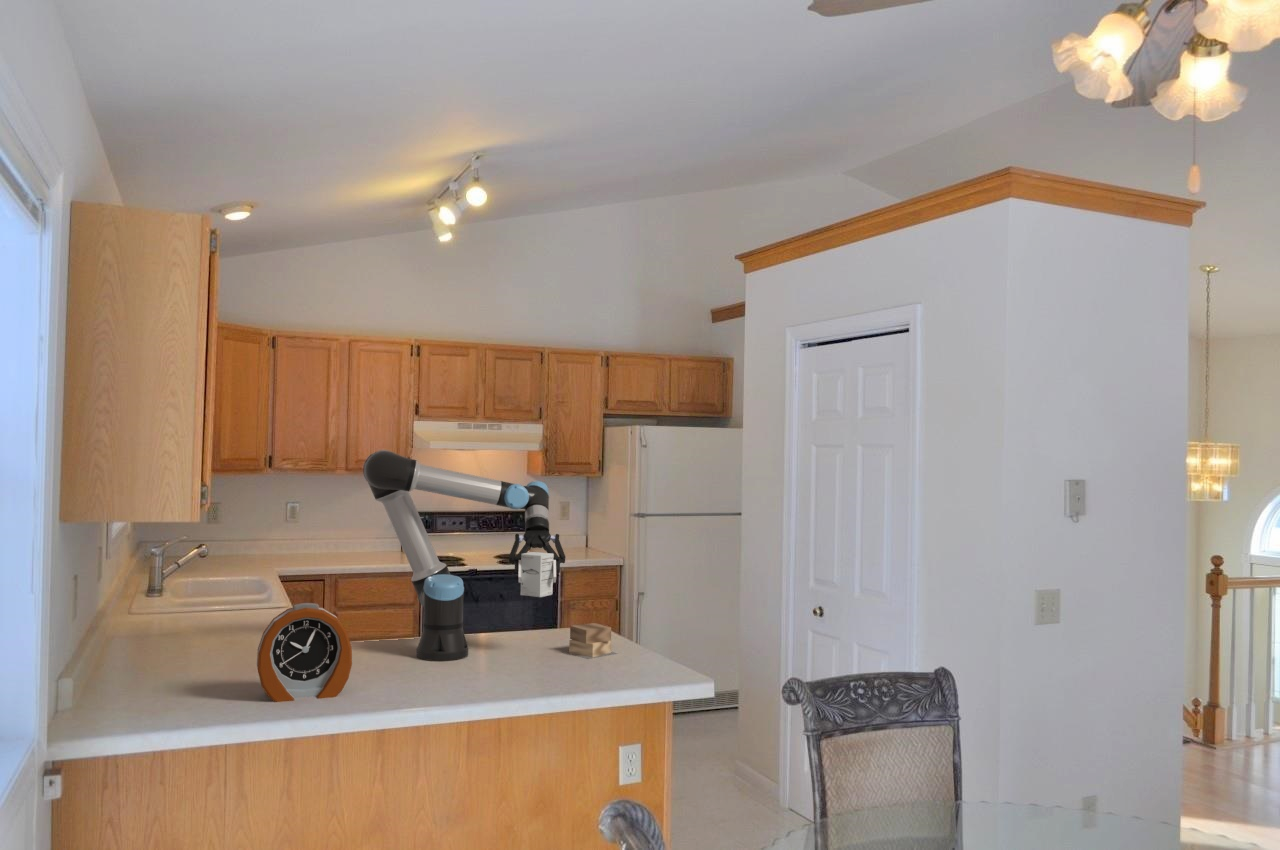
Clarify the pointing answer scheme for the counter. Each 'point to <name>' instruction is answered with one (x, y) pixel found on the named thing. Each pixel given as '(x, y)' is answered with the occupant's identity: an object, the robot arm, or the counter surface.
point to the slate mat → (591, 657)
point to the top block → (590, 633)
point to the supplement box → (536, 574)
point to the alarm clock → (304, 654)
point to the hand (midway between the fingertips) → (537, 579)
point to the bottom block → (589, 648)
